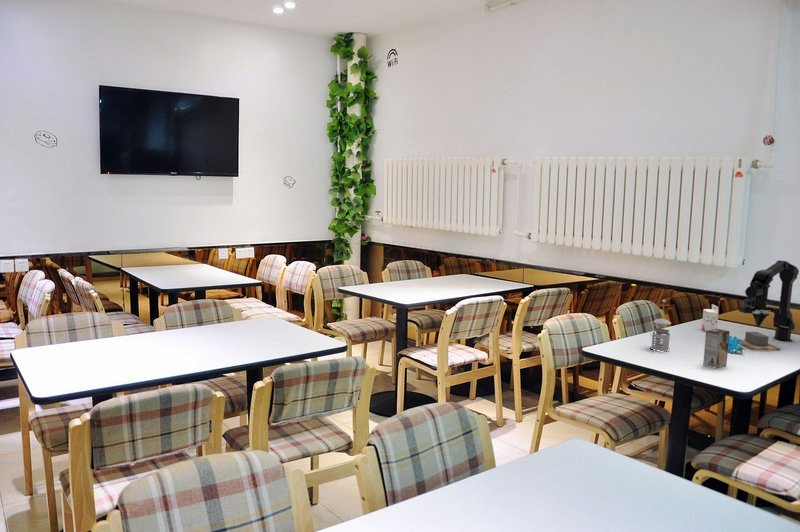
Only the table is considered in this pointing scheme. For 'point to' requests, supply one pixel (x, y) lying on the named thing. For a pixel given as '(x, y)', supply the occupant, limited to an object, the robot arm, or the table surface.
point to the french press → (660, 335)
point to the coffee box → (716, 348)
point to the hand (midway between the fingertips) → (757, 326)
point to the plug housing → (756, 338)
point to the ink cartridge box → (710, 318)
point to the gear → (735, 345)
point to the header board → (753, 347)
